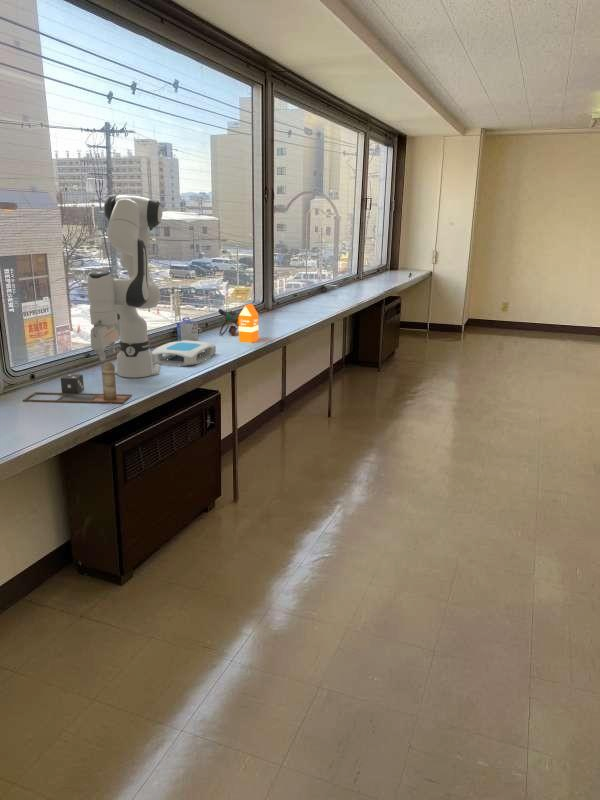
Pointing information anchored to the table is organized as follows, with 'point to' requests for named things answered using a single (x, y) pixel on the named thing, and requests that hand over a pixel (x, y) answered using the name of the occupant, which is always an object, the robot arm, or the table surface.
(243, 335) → the orange juice
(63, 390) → the die
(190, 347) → the white step stool
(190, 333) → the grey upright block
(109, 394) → the pawn
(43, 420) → the table surface
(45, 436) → the table surface
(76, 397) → the board
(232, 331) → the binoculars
